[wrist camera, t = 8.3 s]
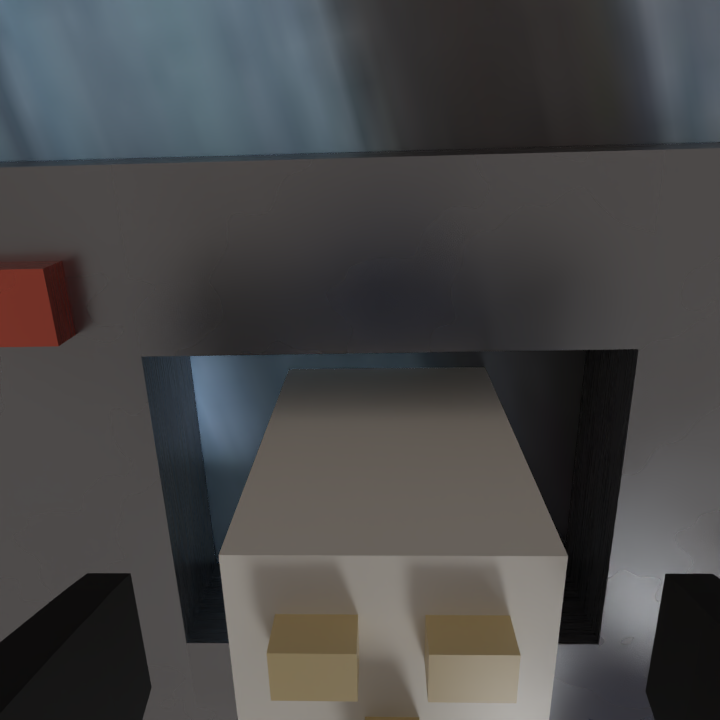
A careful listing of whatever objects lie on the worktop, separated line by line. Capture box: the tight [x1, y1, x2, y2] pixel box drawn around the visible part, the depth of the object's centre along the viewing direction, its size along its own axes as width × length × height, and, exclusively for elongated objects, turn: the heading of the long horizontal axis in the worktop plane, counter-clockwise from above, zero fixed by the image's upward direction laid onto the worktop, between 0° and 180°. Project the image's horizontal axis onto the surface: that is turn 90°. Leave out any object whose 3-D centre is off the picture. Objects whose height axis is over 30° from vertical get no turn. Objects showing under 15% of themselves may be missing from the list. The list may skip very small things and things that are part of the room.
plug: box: [219, 367, 568, 720], centre depth 10 cm, size 4×4×7 cm
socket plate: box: [0, 142, 720, 720], centre depth 12 cm, size 16×12×3 cm
